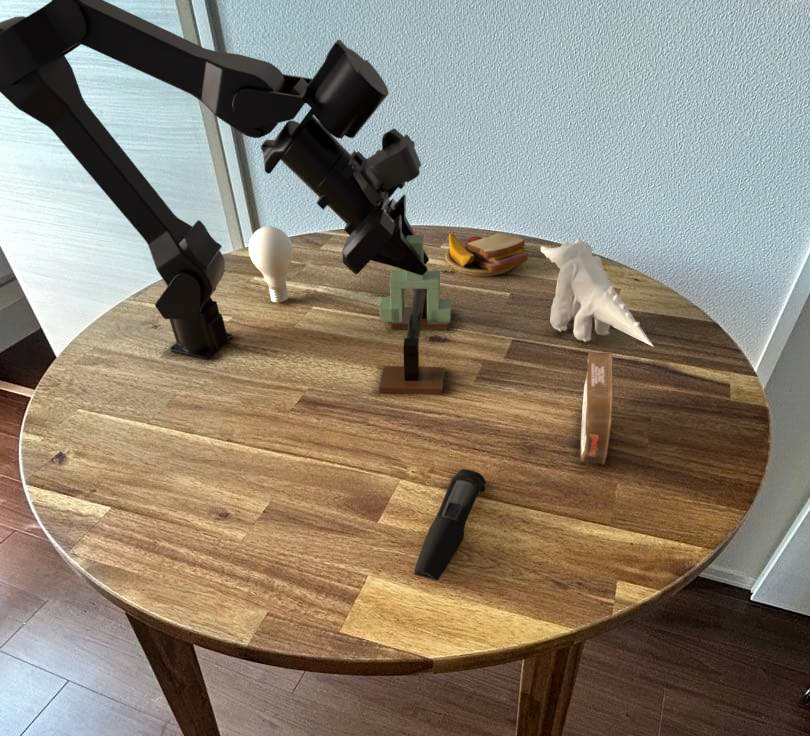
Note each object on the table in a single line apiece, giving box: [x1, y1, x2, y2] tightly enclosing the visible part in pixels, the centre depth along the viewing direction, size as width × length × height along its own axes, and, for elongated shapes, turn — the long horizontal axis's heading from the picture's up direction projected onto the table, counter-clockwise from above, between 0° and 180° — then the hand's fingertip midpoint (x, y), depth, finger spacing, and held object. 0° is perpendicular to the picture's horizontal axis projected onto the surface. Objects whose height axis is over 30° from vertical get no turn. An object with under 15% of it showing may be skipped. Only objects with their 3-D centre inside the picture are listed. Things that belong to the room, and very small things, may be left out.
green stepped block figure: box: [378, 234, 452, 324], centre depth 82 cm, size 9×3×10 cm, turn 85°
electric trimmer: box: [413, 468, 487, 581], centre depth 64 cm, size 4×16×3 cm, turn 159°
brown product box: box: [579, 351, 614, 465], centre depth 72 cm, size 15×3×8 cm, turn 168°
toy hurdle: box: [378, 289, 449, 395], centre depth 87 cm, size 8×21×6 cm, turn 175°
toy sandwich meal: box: [444, 232, 529, 277], centre depth 105 cm, size 12×14×5 cm
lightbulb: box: [248, 225, 294, 304], centre depth 96 cm, size 6×6×11 cm
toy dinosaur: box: [540, 238, 655, 348], centre depth 86 cm, size 7×24×11 cm, turn 28°
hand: (425, 267), depth 81 cm, fingers closed on green stepped block figure, 2 cm apart
